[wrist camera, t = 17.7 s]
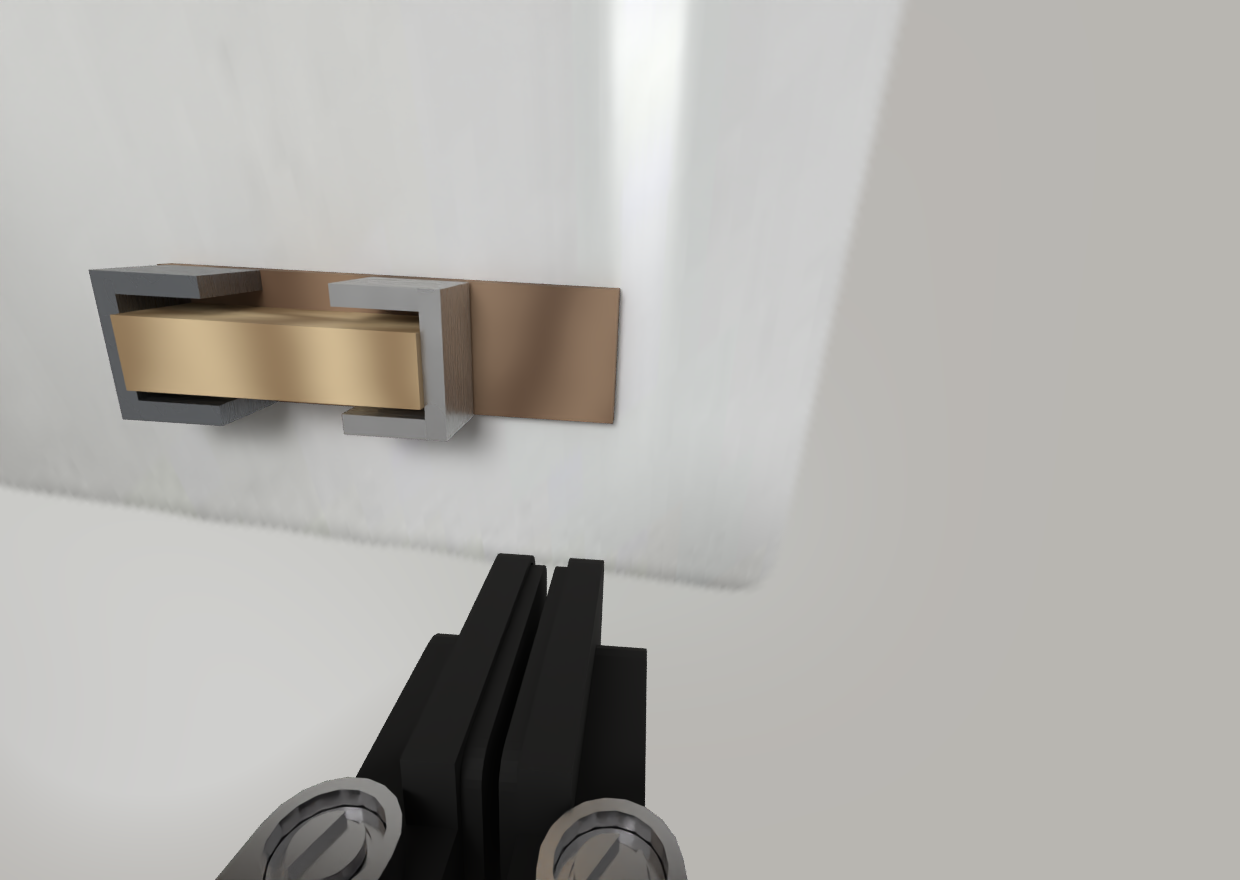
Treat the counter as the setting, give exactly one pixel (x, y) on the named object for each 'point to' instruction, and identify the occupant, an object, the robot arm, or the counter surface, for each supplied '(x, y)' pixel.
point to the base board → (499, 340)
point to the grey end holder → (163, 289)
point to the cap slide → (440, 353)
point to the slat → (273, 354)
